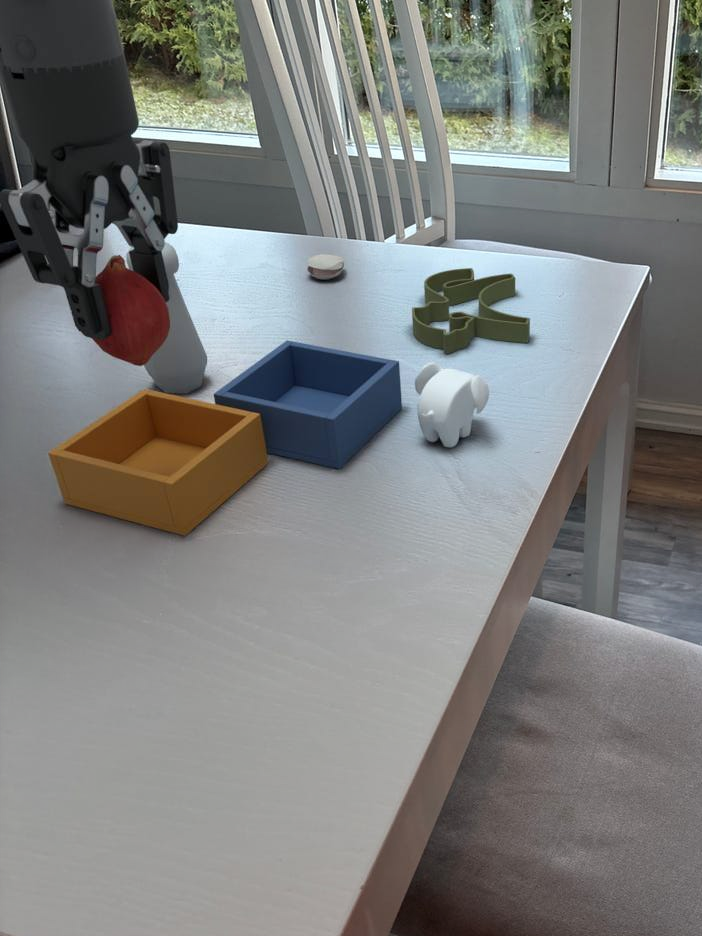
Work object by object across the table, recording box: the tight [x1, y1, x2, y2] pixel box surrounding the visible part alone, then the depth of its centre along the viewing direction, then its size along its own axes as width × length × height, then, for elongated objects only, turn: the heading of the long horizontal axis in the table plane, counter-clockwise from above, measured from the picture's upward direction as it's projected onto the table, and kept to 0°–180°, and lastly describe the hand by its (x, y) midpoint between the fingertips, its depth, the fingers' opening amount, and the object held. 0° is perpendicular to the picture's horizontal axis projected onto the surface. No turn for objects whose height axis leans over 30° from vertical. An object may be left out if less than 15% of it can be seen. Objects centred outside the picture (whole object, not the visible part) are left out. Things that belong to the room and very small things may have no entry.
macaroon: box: [306, 253, 345, 281], centre depth 112 cm, size 4×5×2 cm
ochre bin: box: [47, 388, 269, 537], centre depth 77 cm, size 12×12×5 cm
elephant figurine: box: [414, 361, 490, 448], centre depth 82 cm, size 7×8×6 cm
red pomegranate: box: [91, 254, 170, 367], centre depth 69 cm, size 6×6×8 cm
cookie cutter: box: [411, 267, 531, 355], centre depth 102 cm, size 18×12×2 cm, turn 5°
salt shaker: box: [125, 241, 208, 395], centre depth 87 cm, size 6×6×13 cm
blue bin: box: [213, 340, 403, 470], centre depth 84 cm, size 12×12×5 cm
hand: (127, 318), depth 69 cm, fingers closed on red pomegranate, 6 cm apart
